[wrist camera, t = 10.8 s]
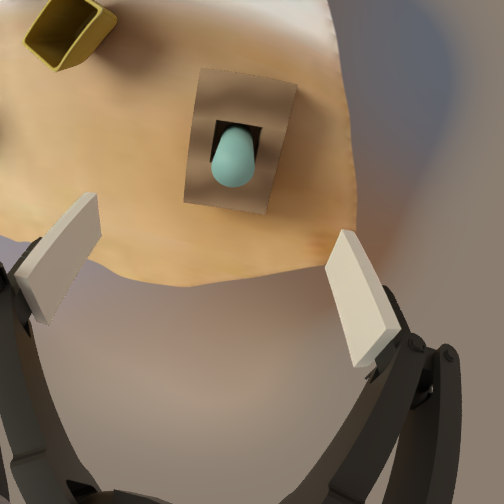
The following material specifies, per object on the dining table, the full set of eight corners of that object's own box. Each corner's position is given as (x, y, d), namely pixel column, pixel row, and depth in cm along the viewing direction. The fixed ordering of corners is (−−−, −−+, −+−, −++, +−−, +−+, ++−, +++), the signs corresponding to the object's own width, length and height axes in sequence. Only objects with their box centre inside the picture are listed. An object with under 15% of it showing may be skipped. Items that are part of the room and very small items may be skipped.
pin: (225, 120, 30) (214, 144, 21) (254, 125, 31) (258, 151, 21) (220, 147, 33) (208, 183, 23) (249, 151, 33) (250, 190, 23)
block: (208, 68, 28) (200, 68, 23) (289, 82, 29) (297, 84, 24) (192, 183, 37) (183, 202, 32) (262, 193, 38) (265, 214, 33)
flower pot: (98, -7, 18) (62, -18, 11) (135, 19, 22) (103, 8, 15) (60, 41, 22) (20, 43, 14) (93, 69, 26) (55, 74, 18)
